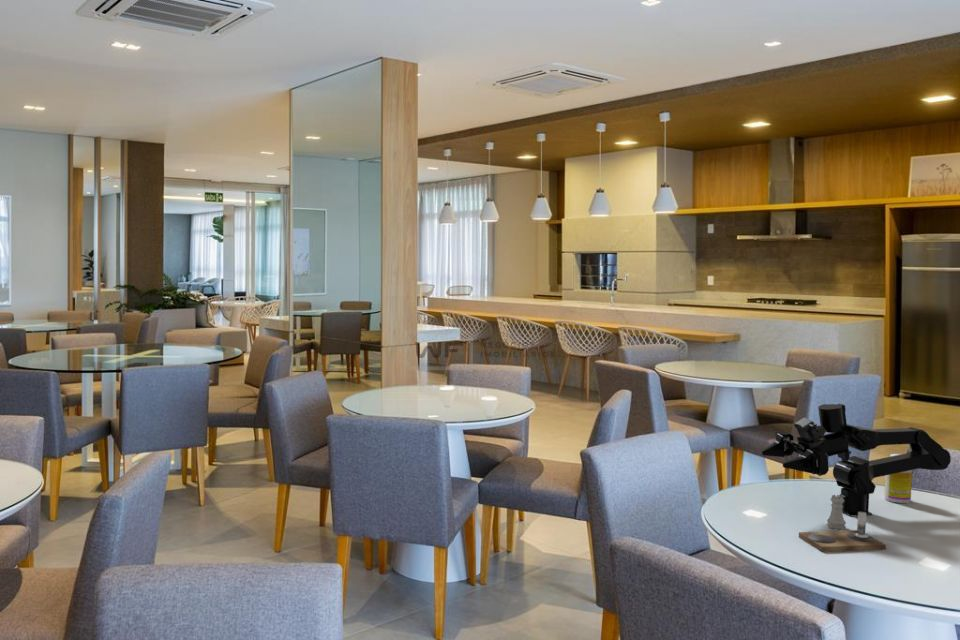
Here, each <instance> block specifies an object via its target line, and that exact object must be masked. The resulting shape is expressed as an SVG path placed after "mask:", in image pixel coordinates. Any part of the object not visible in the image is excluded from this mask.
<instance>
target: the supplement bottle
mask: <svg viewBox="0 0 960 640" xmlns="http://www.w3.org/2000/svg"><path fill="white" fill-rule="evenodd" d="M896 455H901V453H891V454H890V455H889V457H891V456H896ZM912 476H913V470H910V471H905V472H900V473H895V474H891V475H886V476H885V479H884V499H885V500H886V501H888V502H892V503H895V502H898V503H897V504H908V503H907V502H909V503H910V502H911V501H912V485H913V484H912V482H913V477H912Z"/></svg>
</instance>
